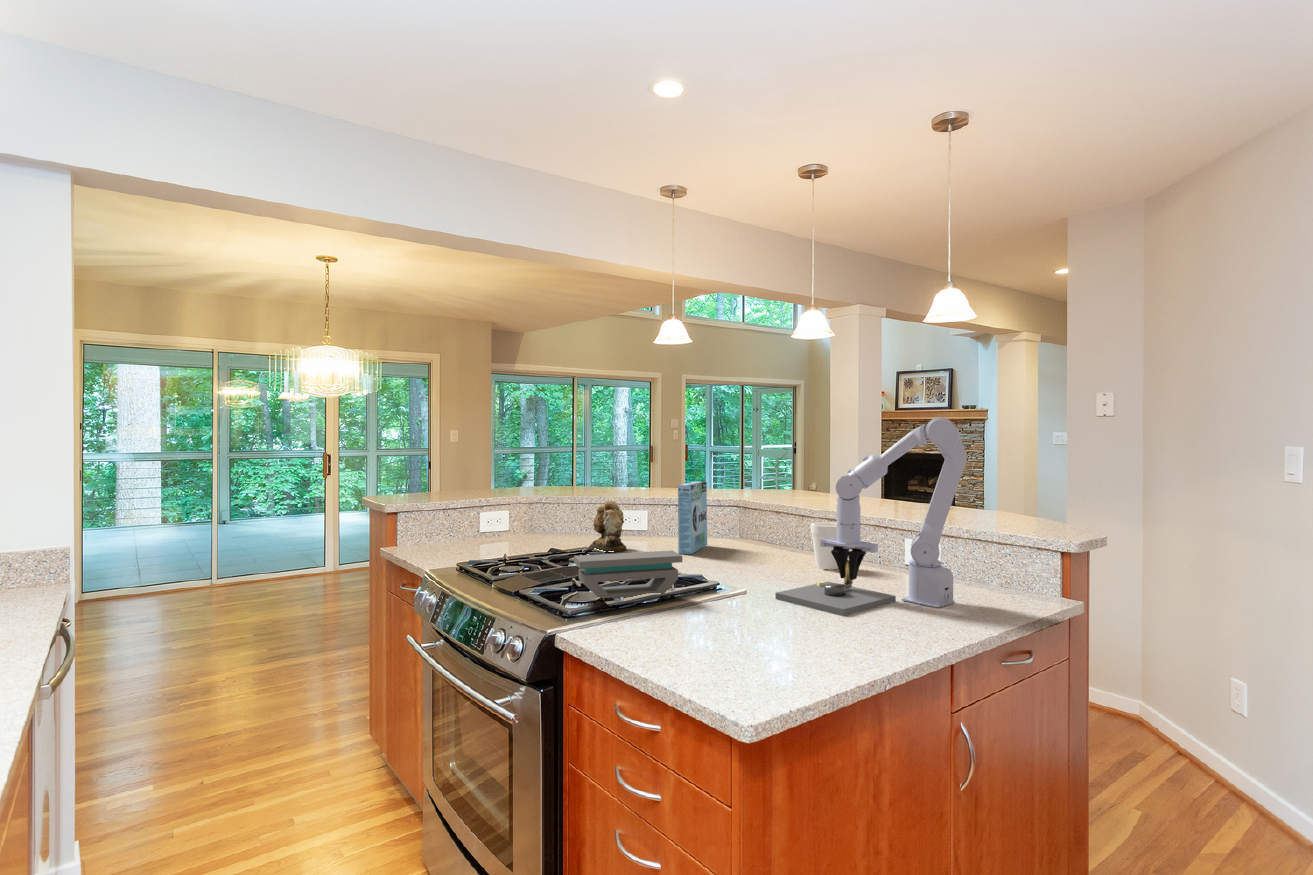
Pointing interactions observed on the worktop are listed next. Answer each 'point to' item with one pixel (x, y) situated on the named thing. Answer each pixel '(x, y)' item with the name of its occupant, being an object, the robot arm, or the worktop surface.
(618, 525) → the brown stone sculpture
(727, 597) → the worktop surface
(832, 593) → the crank
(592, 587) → the sharpening stone
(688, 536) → the gum box
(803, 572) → the worktop surface
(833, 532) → the foam cup
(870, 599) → the dial plate
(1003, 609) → the worktop surface
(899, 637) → the worktop surface
